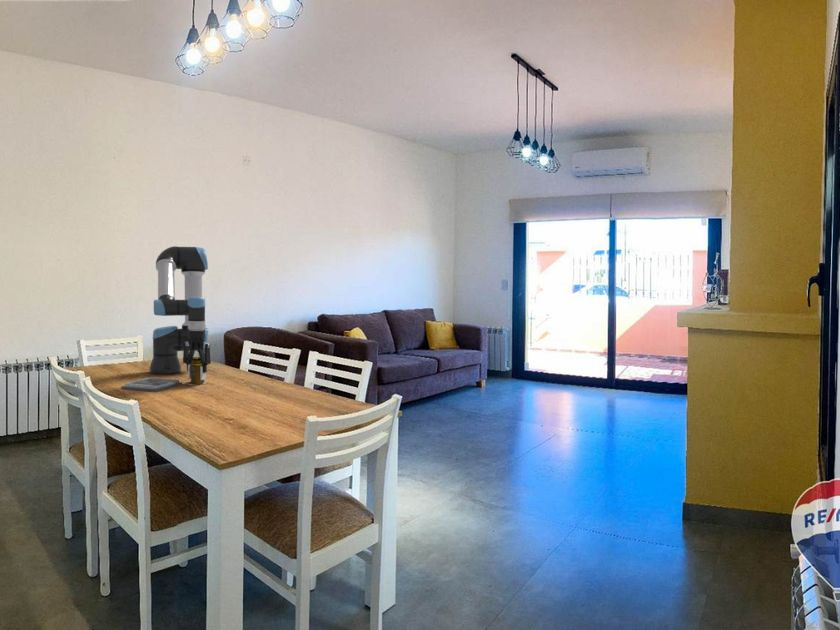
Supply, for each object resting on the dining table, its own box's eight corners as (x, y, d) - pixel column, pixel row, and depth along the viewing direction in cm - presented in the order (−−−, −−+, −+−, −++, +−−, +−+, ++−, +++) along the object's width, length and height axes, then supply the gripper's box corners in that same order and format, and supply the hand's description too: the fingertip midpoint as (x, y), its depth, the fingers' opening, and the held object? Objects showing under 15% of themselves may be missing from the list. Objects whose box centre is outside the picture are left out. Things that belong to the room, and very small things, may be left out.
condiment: (207, 383, 285) (207, 358, 284) (190, 385, 279) (190, 359, 278) (201, 381, 290) (201, 356, 290) (183, 383, 285) (183, 357, 284)
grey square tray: (150, 381, 286) (150, 377, 286) (182, 384, 281) (182, 379, 281) (121, 388, 269) (121, 383, 269) (155, 391, 264) (154, 386, 264)
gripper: (173, 329, 282) (174, 378, 284) (209, 331, 276) (209, 381, 278) (184, 328, 289) (184, 376, 291) (219, 330, 284) (219, 379, 285)
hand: (196, 378), depth 285 cm, fingers closed on condiment, 6 cm apart
